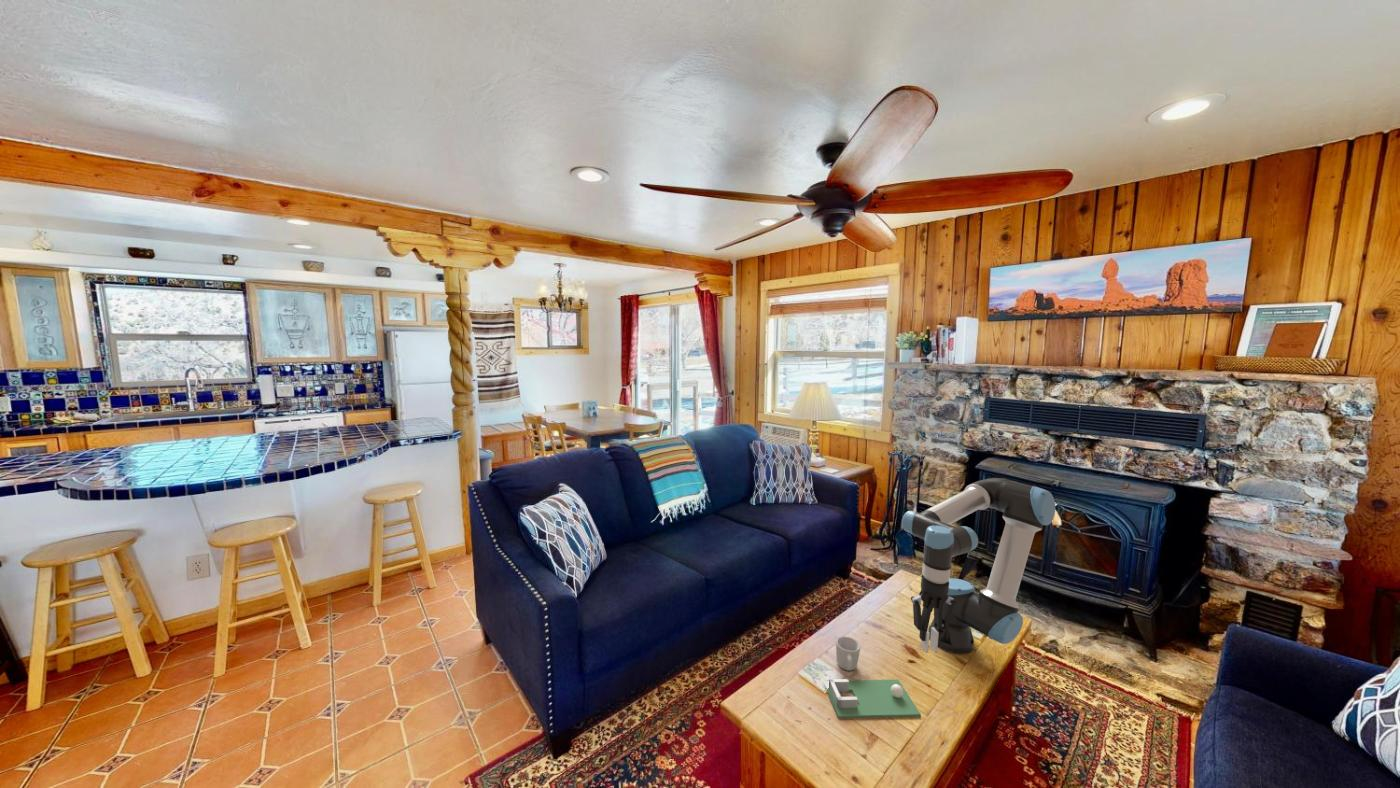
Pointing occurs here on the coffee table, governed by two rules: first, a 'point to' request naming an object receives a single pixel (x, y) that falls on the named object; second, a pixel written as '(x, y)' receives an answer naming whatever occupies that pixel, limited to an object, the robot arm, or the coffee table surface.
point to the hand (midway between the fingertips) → (928, 649)
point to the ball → (897, 691)
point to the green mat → (876, 701)
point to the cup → (847, 652)
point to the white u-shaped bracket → (843, 685)
